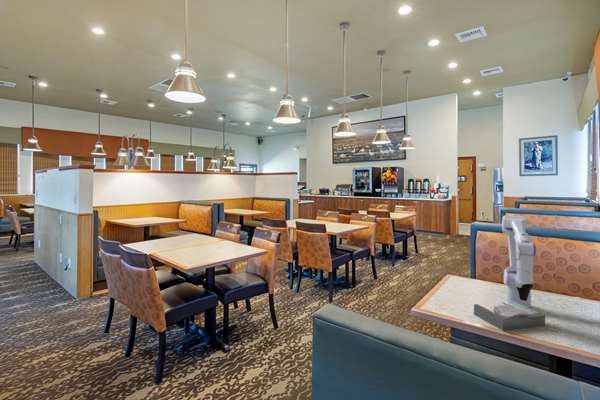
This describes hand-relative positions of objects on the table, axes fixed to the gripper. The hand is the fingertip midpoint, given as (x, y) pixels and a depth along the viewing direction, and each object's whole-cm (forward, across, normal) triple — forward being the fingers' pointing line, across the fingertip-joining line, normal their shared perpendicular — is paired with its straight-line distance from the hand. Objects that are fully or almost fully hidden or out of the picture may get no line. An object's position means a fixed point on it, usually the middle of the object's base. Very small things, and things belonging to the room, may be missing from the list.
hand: (523, 300), depth 135 cm
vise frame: (+7, +9, -3) cm, 12 cm away
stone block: (+8, +6, -3) cm, 10 cm away
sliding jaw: (+7, 0, 0) cm, 7 cm away
